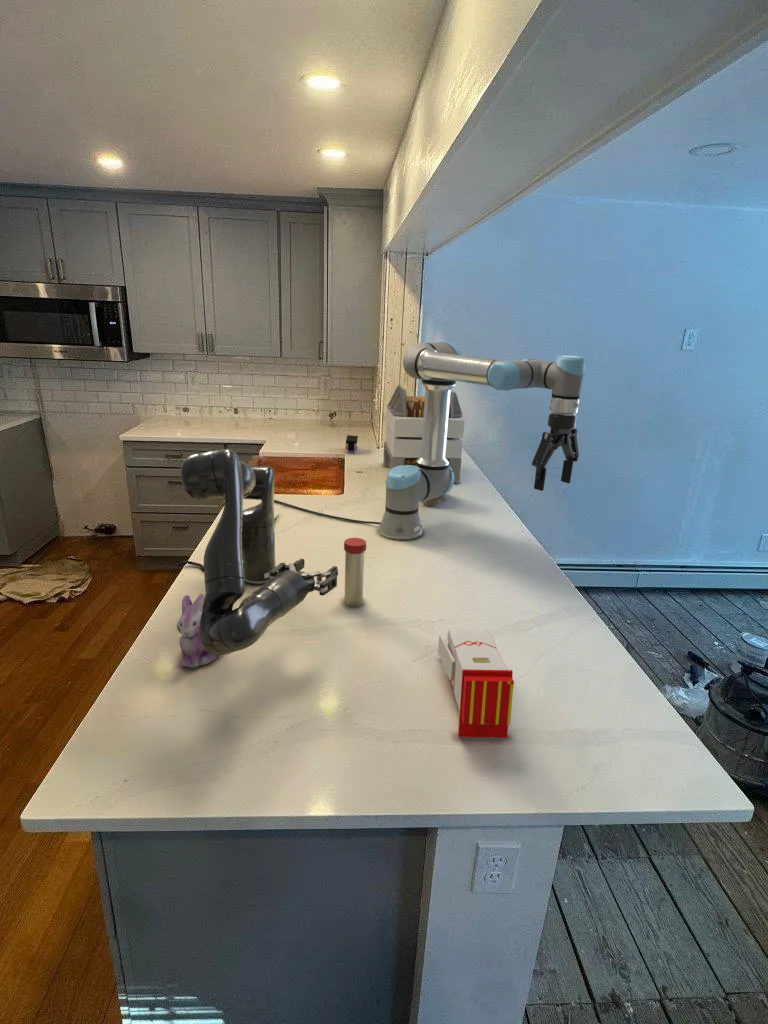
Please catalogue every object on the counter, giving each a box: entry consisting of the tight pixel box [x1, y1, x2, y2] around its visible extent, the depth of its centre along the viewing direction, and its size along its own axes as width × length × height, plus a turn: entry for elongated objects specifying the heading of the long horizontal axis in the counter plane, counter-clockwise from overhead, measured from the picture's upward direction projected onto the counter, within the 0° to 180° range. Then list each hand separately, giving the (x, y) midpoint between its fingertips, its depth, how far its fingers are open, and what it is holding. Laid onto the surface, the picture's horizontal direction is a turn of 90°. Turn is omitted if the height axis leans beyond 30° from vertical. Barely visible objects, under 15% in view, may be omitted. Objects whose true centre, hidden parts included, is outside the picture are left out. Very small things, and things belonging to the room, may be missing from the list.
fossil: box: [421, 493, 448, 507], centre depth 236 cm, size 22×10×15 cm
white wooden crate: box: [383, 384, 465, 484], centre depth 268 cm, size 34×33×41 cm
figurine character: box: [345, 434, 359, 454], centre depth 310 cm, size 7×8×15 cm
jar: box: [343, 551, 365, 607], centre depth 150 cm, size 5×5×17 cm
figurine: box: [176, 593, 220, 668], centre depth 123 cm, size 9×10×15 cm
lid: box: [343, 537, 367, 554], centre depth 147 cm, size 6×6×2 cm
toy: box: [437, 628, 515, 738], centre depth 117 cm, size 12×13×30 cm
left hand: (319, 566), depth 130 cm, fingers open, 8 cm apart
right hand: (552, 485), depth 166 cm, fingers open, 13 cm apart
